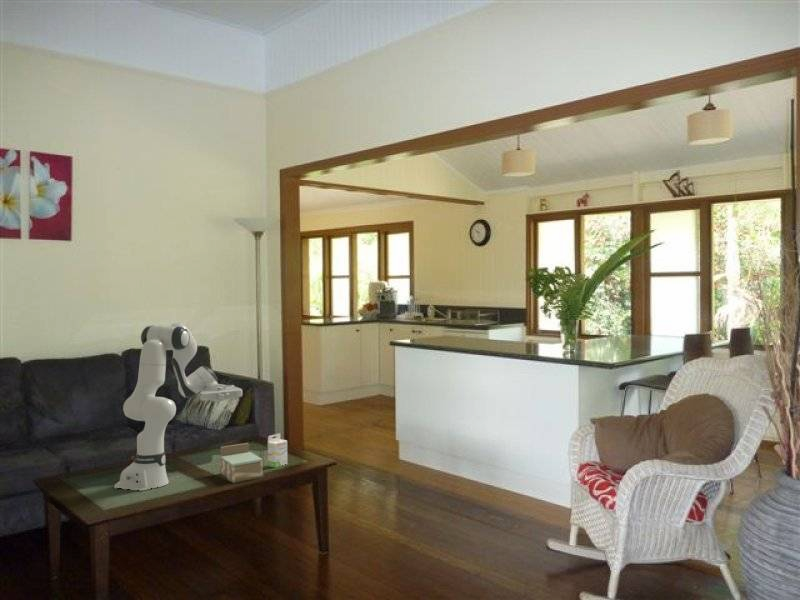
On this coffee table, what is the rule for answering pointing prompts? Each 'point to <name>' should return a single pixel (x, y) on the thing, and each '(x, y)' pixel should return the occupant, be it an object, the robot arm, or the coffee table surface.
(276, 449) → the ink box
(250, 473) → the box
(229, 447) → the lid
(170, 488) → the coffee table surface
